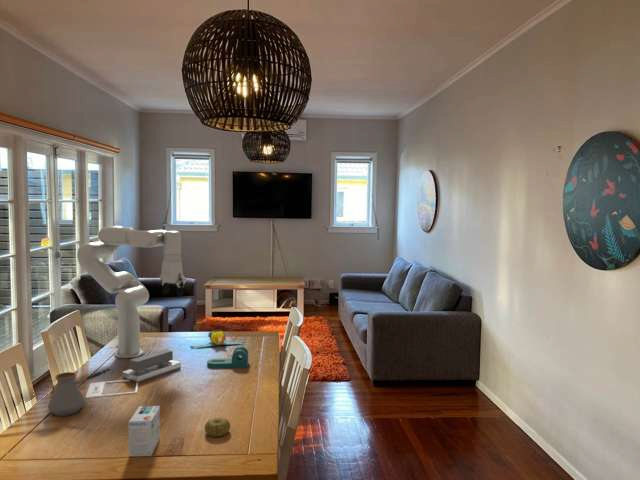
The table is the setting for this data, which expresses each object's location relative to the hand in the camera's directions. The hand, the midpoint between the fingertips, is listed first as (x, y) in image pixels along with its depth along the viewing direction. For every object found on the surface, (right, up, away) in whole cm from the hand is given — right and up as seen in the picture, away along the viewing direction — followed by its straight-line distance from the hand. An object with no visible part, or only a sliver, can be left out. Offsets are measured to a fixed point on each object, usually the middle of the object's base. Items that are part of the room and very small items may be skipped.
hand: (172, 294), depth 226 cm
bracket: (+26, -32, -5) cm, 41 cm away
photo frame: (-13, -34, -34) cm, 49 cm away
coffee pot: (-16, -35, -54) cm, 66 cm away
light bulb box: (+15, -37, -78) cm, 88 cm away
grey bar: (-4, -31, -17) cm, 35 cm away
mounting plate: (-4, -32, -17) cm, 36 cm away
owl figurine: (+15, -29, +26) cm, 42 cm away
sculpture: (+35, -37, -69) cm, 85 cm away
